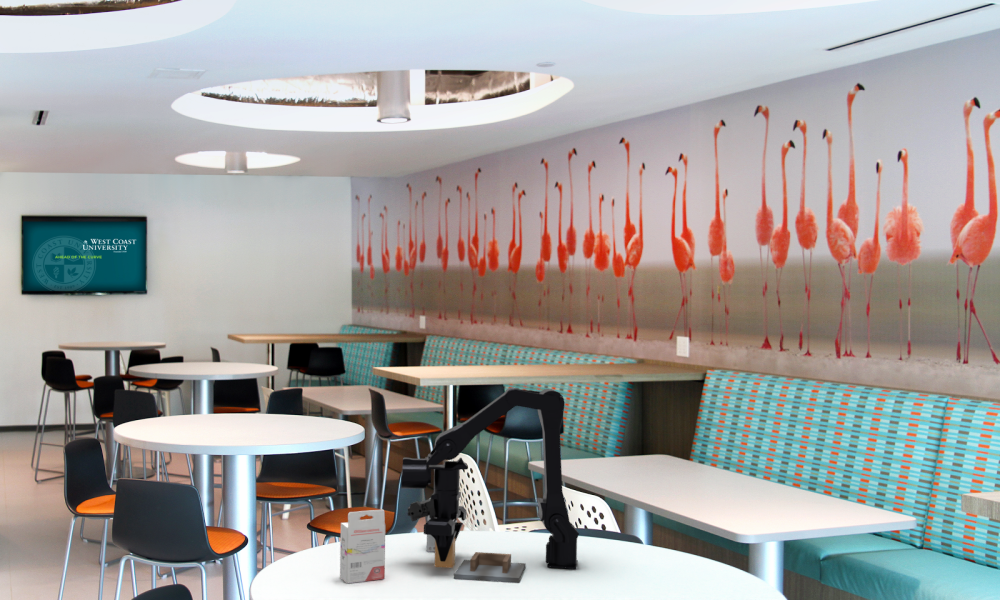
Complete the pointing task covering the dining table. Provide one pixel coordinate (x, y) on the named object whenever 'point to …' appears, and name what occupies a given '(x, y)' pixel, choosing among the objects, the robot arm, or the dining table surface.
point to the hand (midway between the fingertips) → (445, 558)
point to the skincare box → (430, 540)
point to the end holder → (490, 568)
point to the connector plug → (449, 560)
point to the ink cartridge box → (363, 547)
